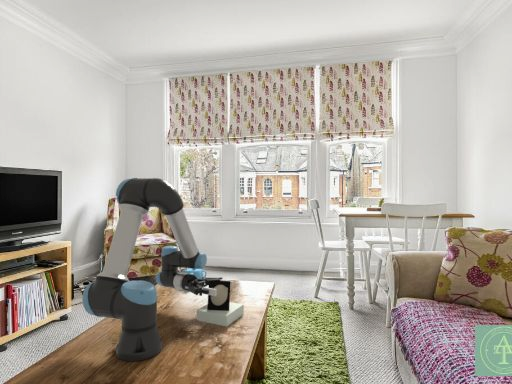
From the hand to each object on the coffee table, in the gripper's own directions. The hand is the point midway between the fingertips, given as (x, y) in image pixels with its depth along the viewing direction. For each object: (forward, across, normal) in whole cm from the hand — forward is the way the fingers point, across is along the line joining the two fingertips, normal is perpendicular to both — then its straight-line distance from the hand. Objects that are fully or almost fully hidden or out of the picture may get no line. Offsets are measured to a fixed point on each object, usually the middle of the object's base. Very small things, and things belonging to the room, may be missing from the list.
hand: (224, 288), depth 145 cm
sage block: (-2, 0, -14) cm, 14 cm away
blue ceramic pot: (-42, -34, -13) cm, 55 cm away
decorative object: (-2, 0, -9) cm, 9 cm away
